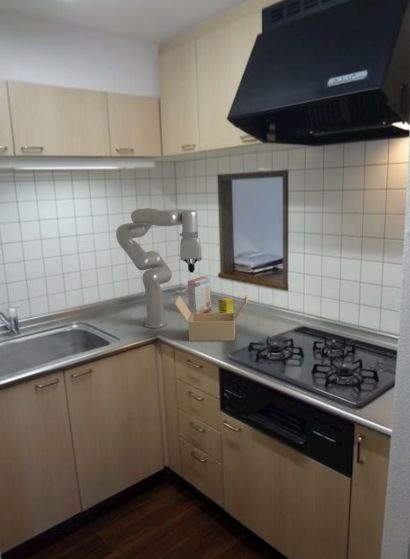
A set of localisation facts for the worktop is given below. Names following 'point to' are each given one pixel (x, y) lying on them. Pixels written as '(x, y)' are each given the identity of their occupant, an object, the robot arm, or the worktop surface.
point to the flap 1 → (182, 308)
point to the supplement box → (225, 305)
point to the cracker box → (199, 295)
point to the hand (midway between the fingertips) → (191, 271)
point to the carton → (211, 327)
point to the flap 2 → (240, 308)
